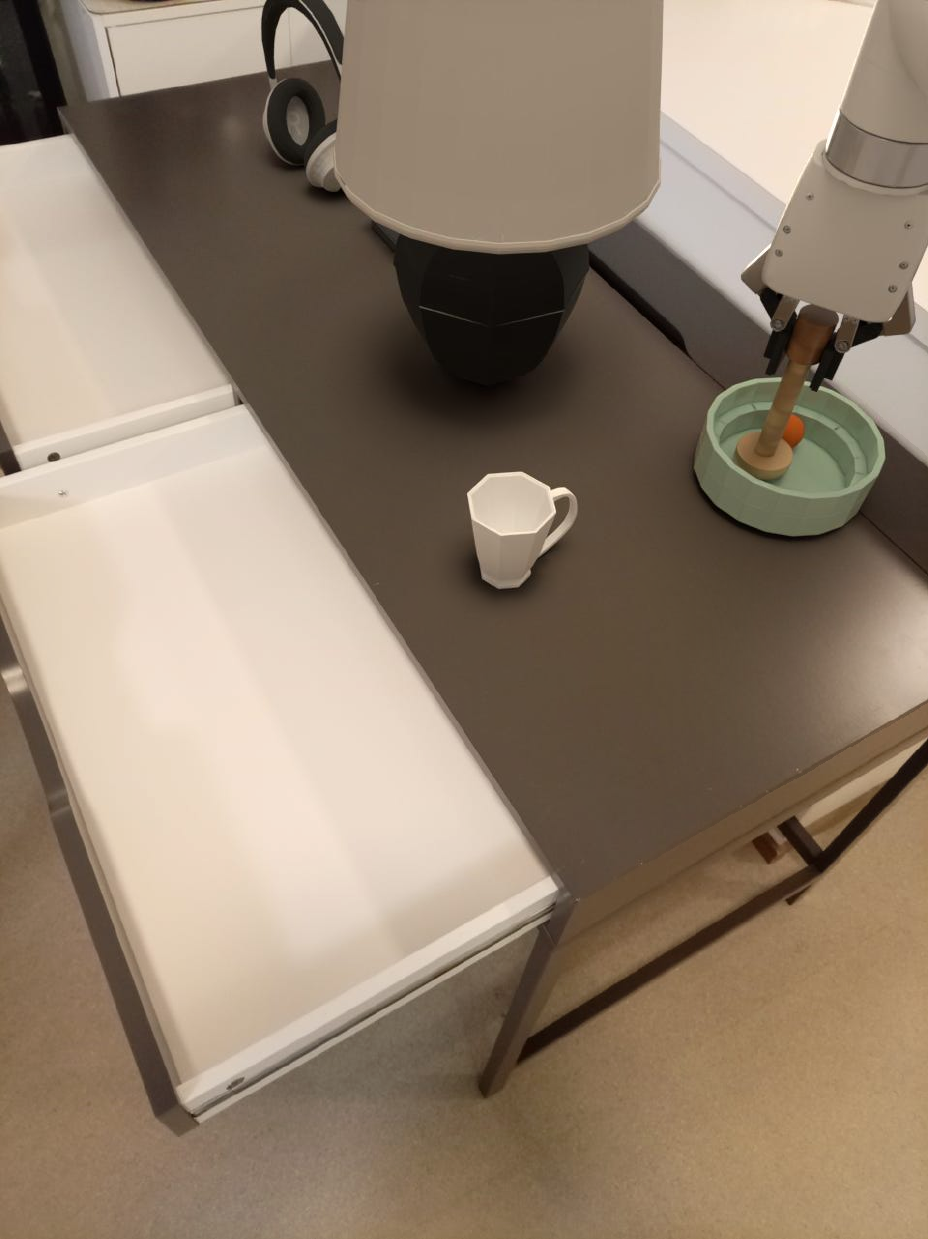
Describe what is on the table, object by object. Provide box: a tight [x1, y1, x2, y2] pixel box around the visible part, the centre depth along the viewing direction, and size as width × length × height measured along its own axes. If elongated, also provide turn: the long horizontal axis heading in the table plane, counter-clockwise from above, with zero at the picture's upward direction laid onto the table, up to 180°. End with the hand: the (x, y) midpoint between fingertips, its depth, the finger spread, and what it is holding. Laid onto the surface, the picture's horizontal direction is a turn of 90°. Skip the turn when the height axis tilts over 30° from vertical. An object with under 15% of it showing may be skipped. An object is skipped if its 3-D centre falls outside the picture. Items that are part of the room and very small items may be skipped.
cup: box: [466, 471, 579, 590], centre depth 72 cm, size 7×10×8 cm
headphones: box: [260, 0, 345, 193], centre depth 103 cm, size 19×8×20 cm, turn 38°
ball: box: [782, 414, 805, 448], centre depth 82 cm, size 3×3×3 cm
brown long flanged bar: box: [733, 303, 840, 480], centre depth 75 cm, size 5×5×15 cm
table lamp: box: [333, 0, 665, 386], centre depth 74 cm, size 27×27×40 cm
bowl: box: [693, 377, 886, 537], centre depth 79 cm, size 15×15×6 cm
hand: (796, 372), depth 73 cm, fingers closed on brown long flanged bar, 3 cm apart
